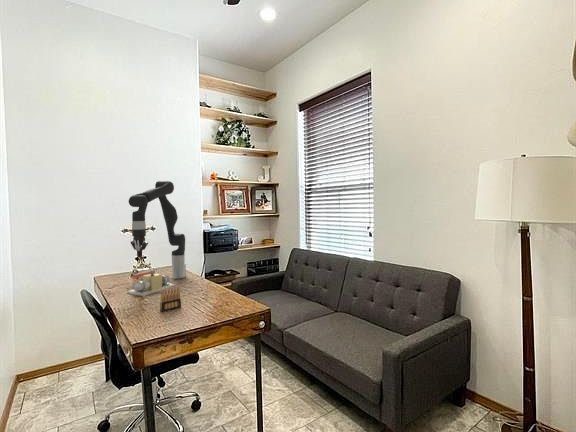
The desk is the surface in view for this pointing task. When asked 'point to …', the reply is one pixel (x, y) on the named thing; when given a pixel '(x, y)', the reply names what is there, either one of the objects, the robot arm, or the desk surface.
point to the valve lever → (143, 273)
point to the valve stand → (151, 284)
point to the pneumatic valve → (141, 272)
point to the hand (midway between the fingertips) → (139, 256)
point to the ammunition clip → (170, 299)
